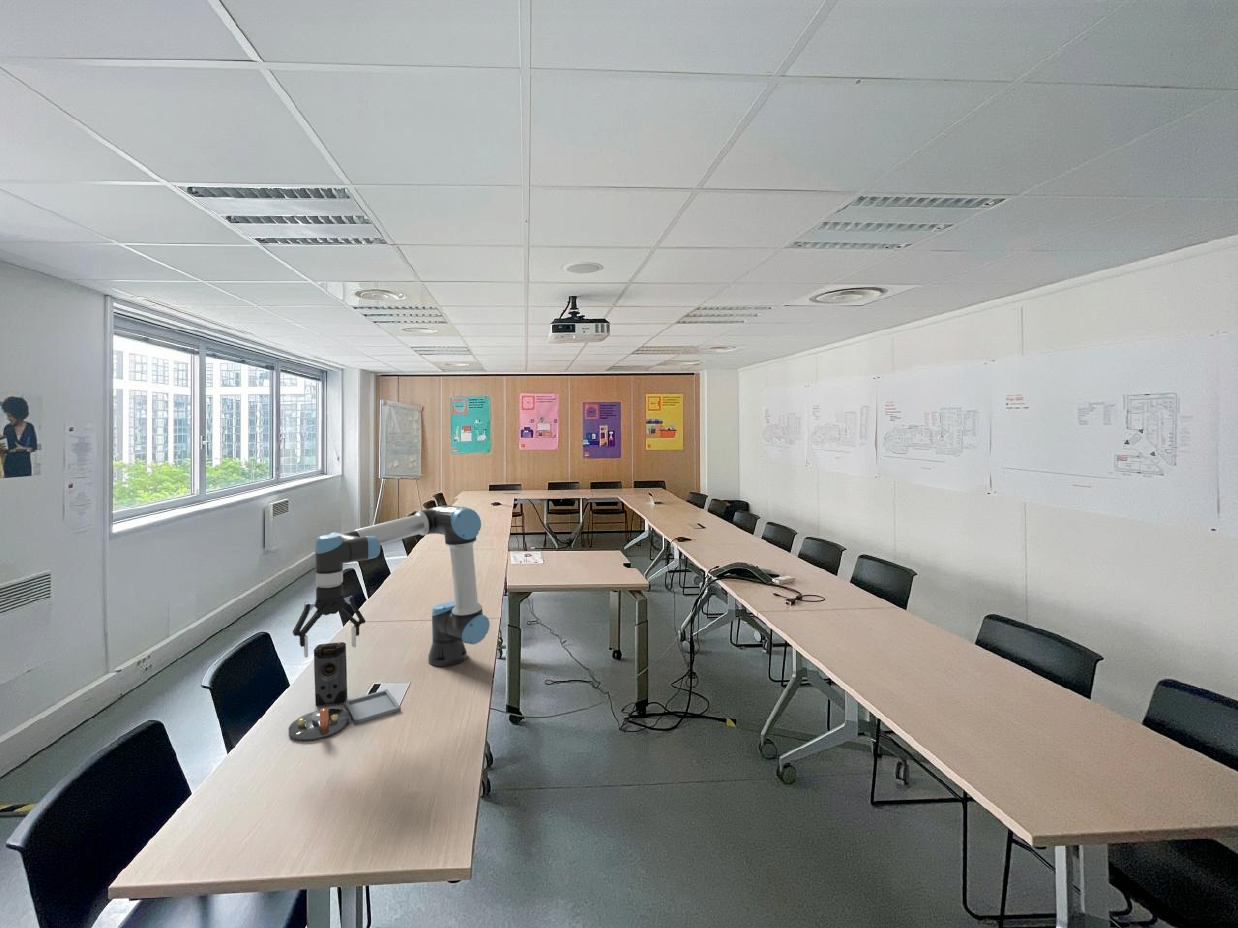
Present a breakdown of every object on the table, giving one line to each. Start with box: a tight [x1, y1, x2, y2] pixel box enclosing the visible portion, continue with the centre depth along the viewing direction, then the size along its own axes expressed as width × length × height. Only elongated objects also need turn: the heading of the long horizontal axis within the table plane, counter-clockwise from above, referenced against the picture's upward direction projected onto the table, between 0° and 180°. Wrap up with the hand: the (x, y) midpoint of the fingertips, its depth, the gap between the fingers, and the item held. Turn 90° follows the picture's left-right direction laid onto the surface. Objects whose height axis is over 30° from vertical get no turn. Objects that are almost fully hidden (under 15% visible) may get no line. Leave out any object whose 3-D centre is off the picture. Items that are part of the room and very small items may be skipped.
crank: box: [312, 707, 330, 734], centre depth 169 cm, size 11×4×7 cm, turn 38°
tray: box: [343, 688, 402, 726], centre depth 183 cm, size 14×16×2 cm
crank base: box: [288, 708, 351, 743], centre depth 172 cm, size 17×17×4 cm
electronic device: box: [313, 641, 348, 708], centre depth 187 cm, size 9×6×20 cm, turn 105°
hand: (330, 651), depth 172 cm, fingers open, 13 cm apart
